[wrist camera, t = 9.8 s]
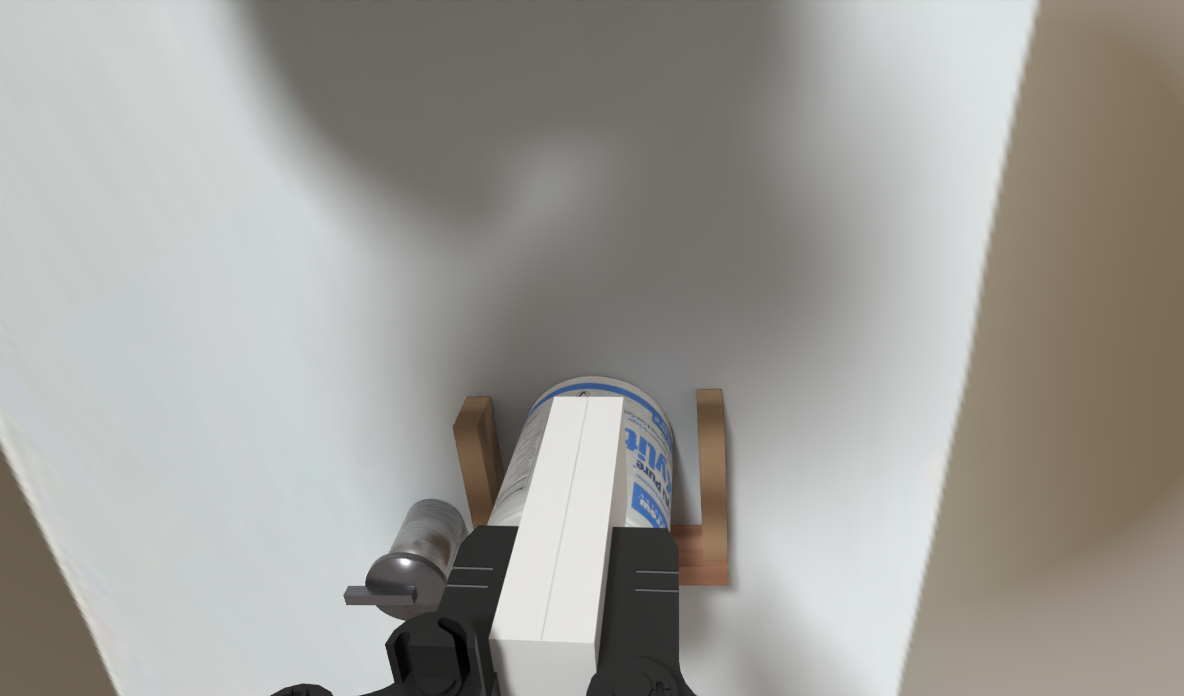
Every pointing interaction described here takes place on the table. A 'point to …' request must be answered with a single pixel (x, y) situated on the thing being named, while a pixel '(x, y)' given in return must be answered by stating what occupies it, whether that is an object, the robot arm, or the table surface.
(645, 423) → the supplement tub
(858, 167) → the table surface
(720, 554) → the bay
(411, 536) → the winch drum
